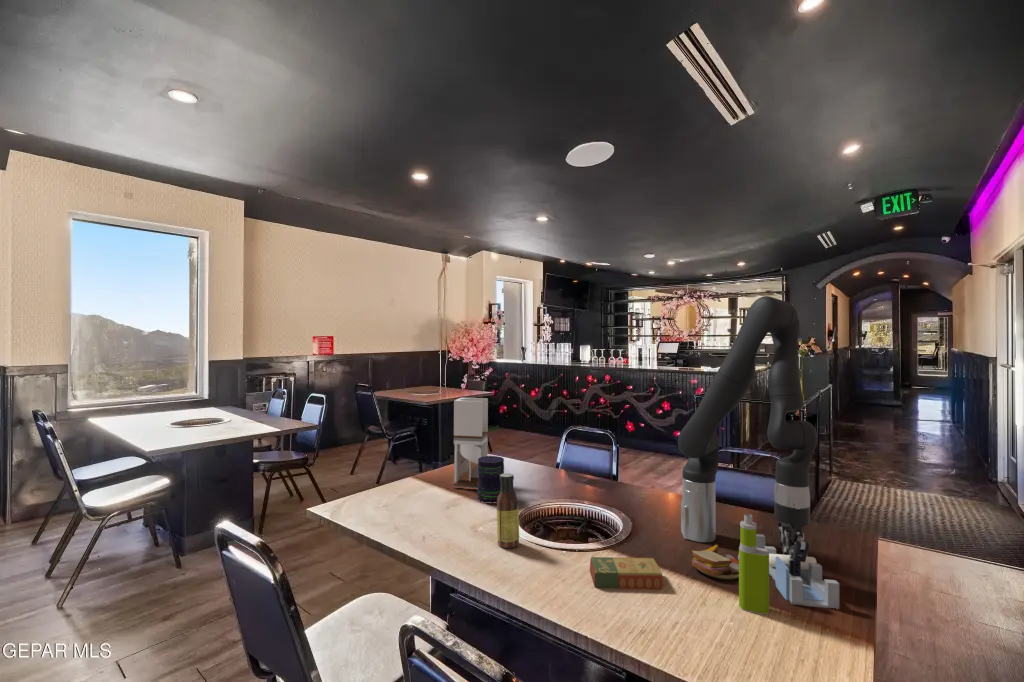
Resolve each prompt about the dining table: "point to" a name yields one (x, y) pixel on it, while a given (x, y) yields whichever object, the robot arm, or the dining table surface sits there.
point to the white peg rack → (802, 582)
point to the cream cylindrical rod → (786, 558)
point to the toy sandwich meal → (716, 564)
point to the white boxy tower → (469, 439)
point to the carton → (625, 573)
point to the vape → (752, 570)
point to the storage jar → (489, 477)
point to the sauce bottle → (507, 513)
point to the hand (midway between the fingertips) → (792, 571)
